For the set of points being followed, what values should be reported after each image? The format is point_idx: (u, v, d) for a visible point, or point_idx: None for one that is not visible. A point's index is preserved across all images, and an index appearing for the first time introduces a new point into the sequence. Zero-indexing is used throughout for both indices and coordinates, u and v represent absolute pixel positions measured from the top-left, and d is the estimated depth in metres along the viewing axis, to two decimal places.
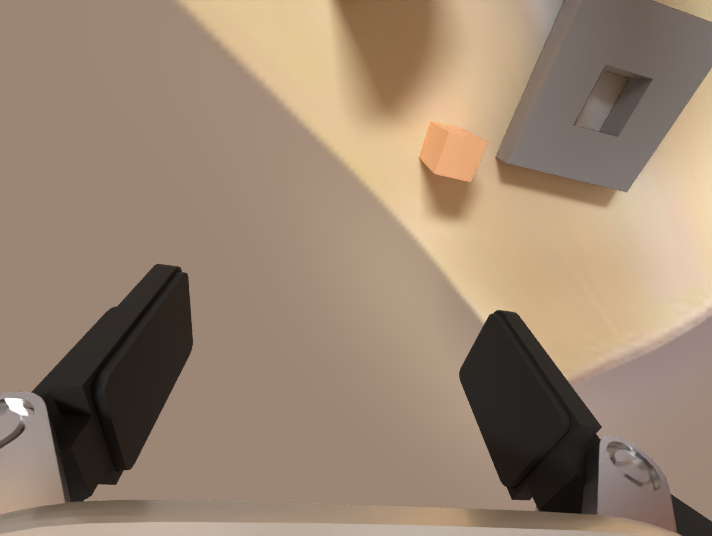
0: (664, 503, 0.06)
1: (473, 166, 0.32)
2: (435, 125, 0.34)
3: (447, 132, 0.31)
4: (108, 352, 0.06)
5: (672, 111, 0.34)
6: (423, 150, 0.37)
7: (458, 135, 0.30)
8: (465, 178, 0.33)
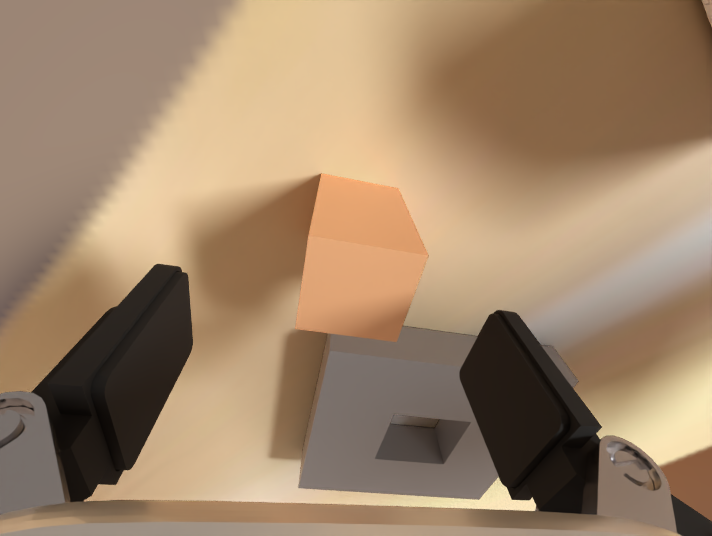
0: (664, 503, 0.06)
1: (336, 327, 0.12)
2: (403, 204, 0.15)
3: (422, 249, 0.11)
4: (108, 352, 0.06)
5: (403, 489, 0.27)
6: (340, 182, 0.15)
7: (416, 279, 0.11)
8: (303, 315, 0.12)
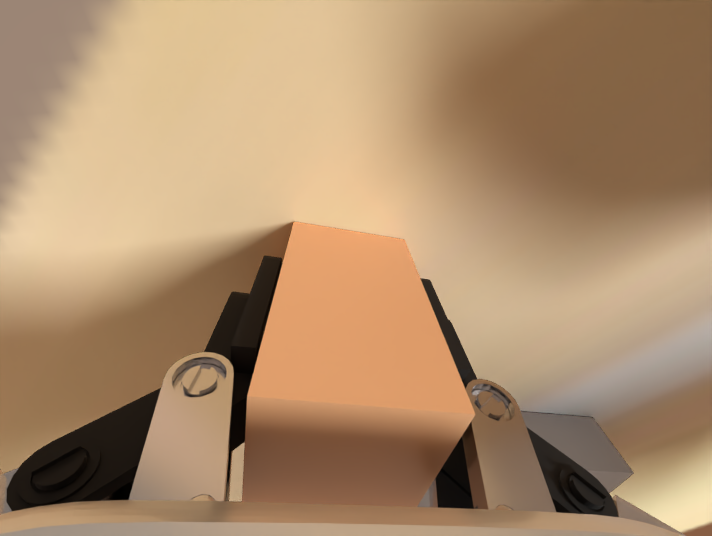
0: (520, 427, 0.07)
1: None
2: (414, 273, 0.10)
3: (462, 395, 0.06)
4: (262, 325, 0.07)
5: None
6: (321, 238, 0.11)
7: (450, 444, 0.06)
8: (253, 495, 0.07)
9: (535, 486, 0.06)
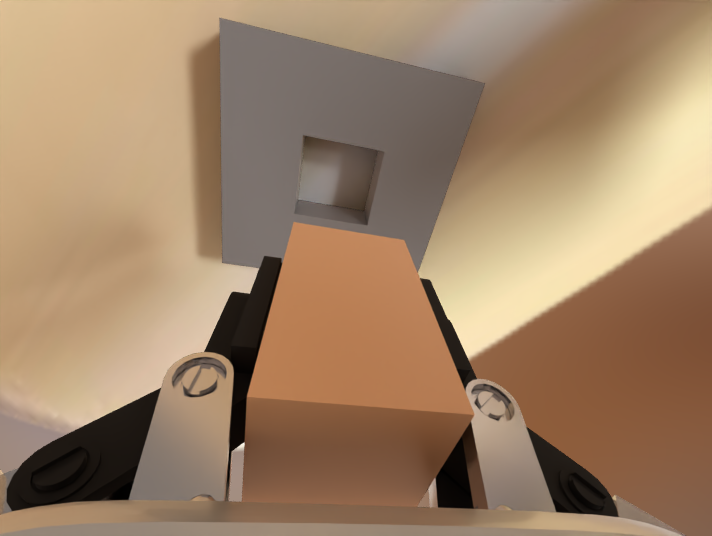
0: (520, 426, 0.07)
1: None
2: (414, 273, 0.10)
3: (461, 395, 0.06)
4: (262, 324, 0.07)
5: None
6: (320, 238, 0.11)
7: (450, 444, 0.06)
8: (253, 495, 0.07)
9: (535, 486, 0.06)
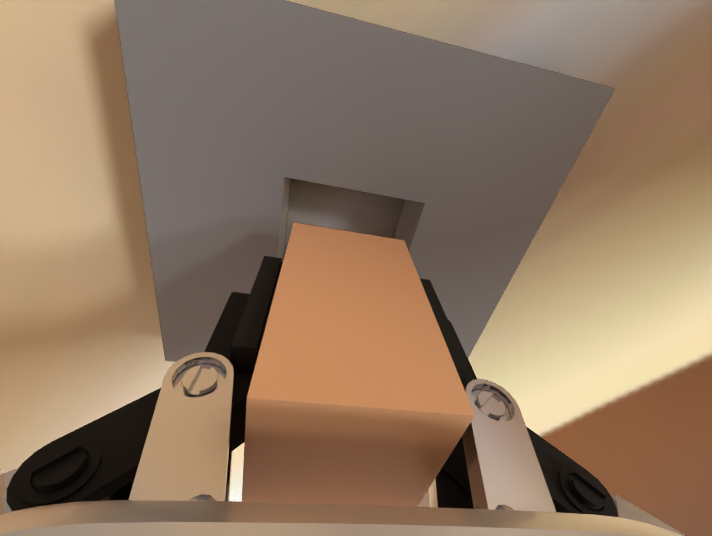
0: (520, 427, 0.07)
1: None
2: (414, 273, 0.10)
3: (461, 396, 0.06)
4: (262, 325, 0.07)
5: None
6: (320, 239, 0.11)
7: (450, 445, 0.06)
8: (253, 496, 0.07)
9: (535, 486, 0.06)
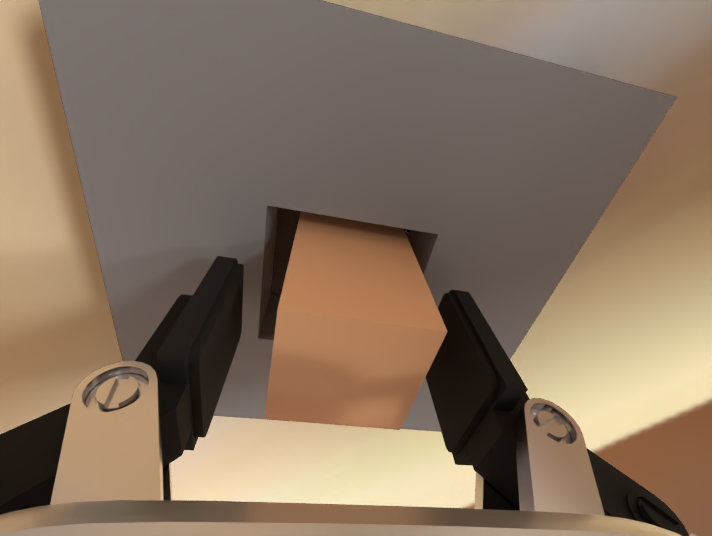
0: (581, 452, 0.06)
1: (320, 415, 0.09)
2: (406, 241, 0.12)
3: (438, 320, 0.08)
4: (198, 330, 0.07)
5: None
6: None
7: (429, 359, 0.08)
8: (275, 403, 0.09)
9: (591, 511, 0.05)
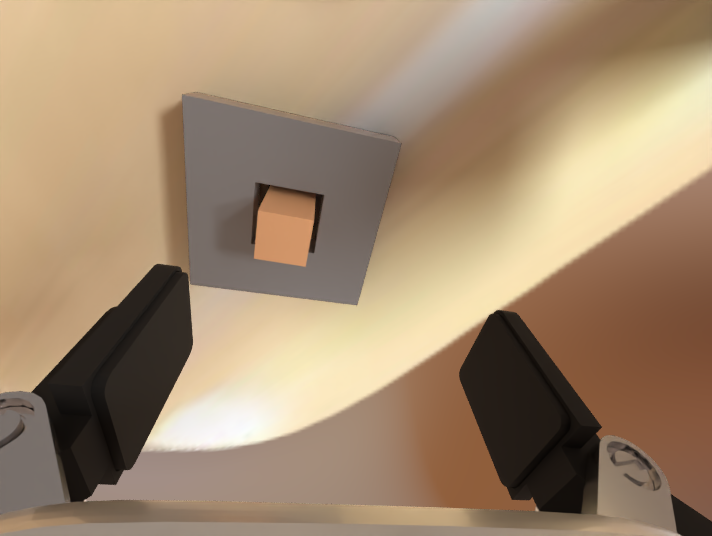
0: (664, 503, 0.06)
1: (274, 257, 0.25)
2: (314, 199, 0.28)
3: (312, 218, 0.24)
4: (108, 352, 0.06)
5: (285, 288, 0.31)
6: (281, 187, 0.28)
7: (310, 232, 0.24)
8: (257, 251, 0.25)
9: None
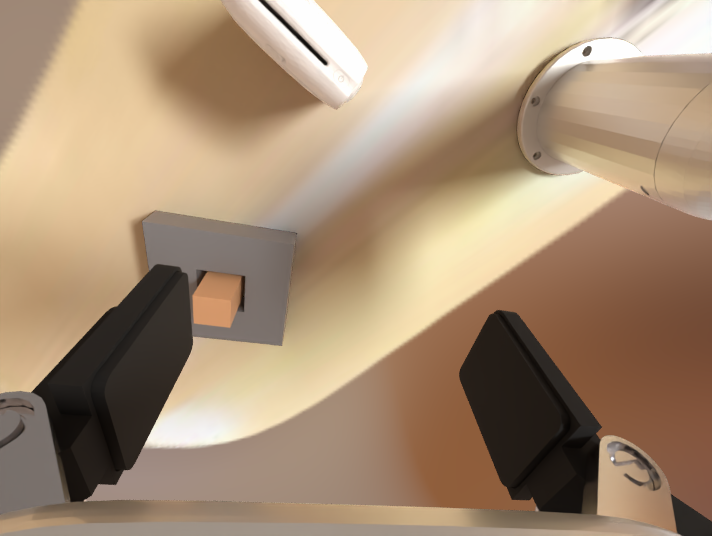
0: (664, 503, 0.06)
1: (207, 322, 0.37)
2: (240, 277, 0.39)
3: (230, 298, 0.36)
4: (108, 352, 0.06)
5: (227, 334, 0.43)
6: None
7: (229, 307, 0.36)
8: (195, 318, 0.37)
9: None
